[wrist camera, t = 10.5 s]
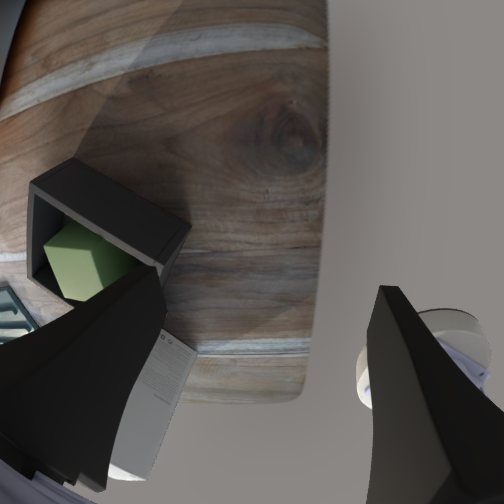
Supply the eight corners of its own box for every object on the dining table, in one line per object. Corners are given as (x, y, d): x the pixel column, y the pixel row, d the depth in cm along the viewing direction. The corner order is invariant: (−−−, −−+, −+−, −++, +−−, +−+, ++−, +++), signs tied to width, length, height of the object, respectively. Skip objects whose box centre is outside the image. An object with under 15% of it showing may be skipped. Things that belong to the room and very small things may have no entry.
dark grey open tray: (192, 225, 20) (164, 265, 17) (153, 308, 25) (130, 347, 22) (72, 156, 19) (29, 181, 15) (58, 247, 24) (27, 278, 20)
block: (139, 268, 22) (110, 307, 19) (94, 263, 23) (64, 297, 20) (126, 215, 20) (90, 250, 16) (79, 214, 21) (42, 245, 17)
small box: (141, 311, 26) (68, 438, 15) (199, 352, 27) (149, 483, 17) (113, 345, 30) (55, 445, 19) (161, 378, 32) (116, 481, 21)
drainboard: (9, 286, 30) (3, 293, 28) (62, 356, 35) (58, 364, 34) (-32, 298, 36) (-37, 303, 35) (7, 350, 42) (3, 355, 41)
